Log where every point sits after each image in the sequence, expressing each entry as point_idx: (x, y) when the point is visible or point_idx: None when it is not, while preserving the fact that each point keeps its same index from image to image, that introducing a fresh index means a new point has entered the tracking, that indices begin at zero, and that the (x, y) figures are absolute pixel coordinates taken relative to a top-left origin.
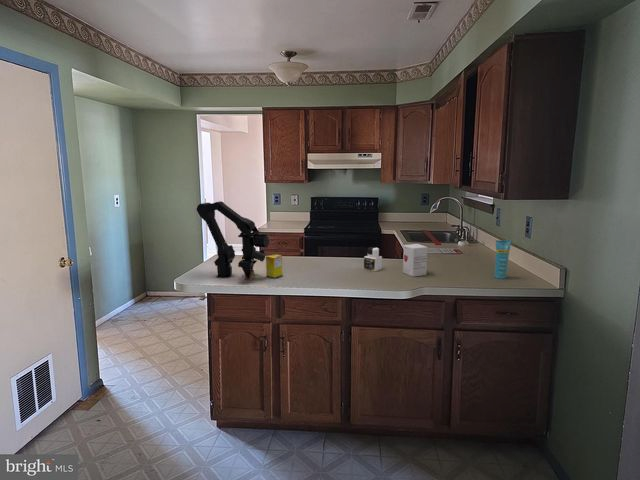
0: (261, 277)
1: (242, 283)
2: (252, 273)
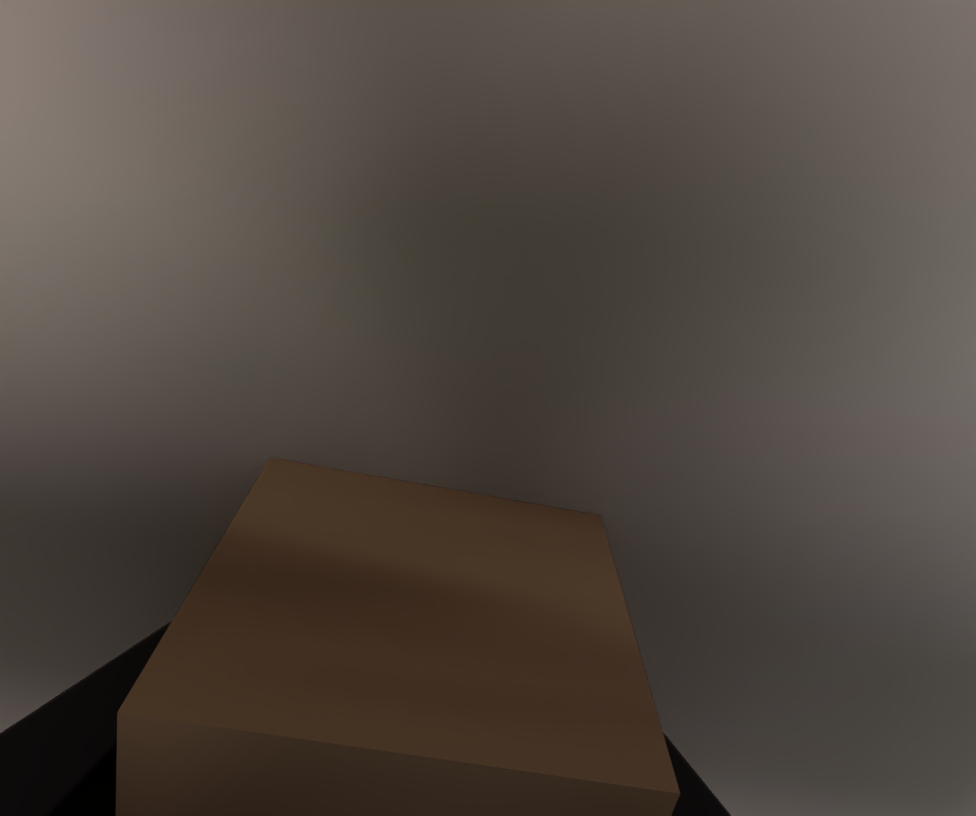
0: (281, 130)
1: (960, 797)
2: (627, 711)
